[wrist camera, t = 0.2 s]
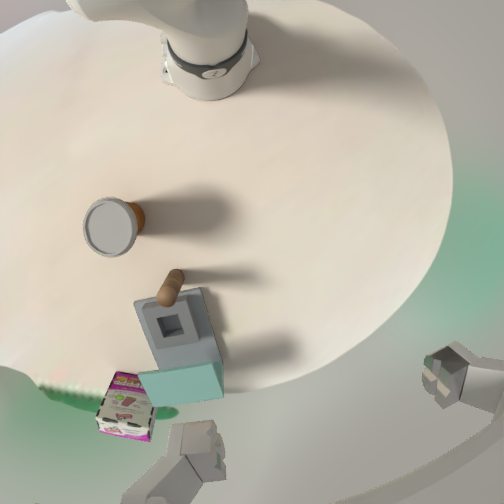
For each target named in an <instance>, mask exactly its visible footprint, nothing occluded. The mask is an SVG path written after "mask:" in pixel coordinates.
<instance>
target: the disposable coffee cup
mask: <svg viewBox="0 0 504 504" xmlns="http://www.w3.org/2000/svg"><path fill="white" fill-rule="evenodd" d="M144 223H145V216H144V212H143V210H142V209H141V208H140V207H139V206H138V205H137V204H134V203H130V202H124V201H122V200H121V199H118V198H115V197H105V198H101V199H99V200H97V201H96V202H94V203H93V204H92V205H91V206H90V207H89V209H88V211H87V213H86V215H85V218H84V221H83V234H84V237H85V240H86V242H87V244H88V245H89V247H90V248H91V249H92V250H93V251H94V252H96V253H98V254H100V255H102V256H105V257H118V256H121V255H123V254H125V253H126V252H127V251H128V250H129V249H130V248H131V247H132V246H133V244H134V242H135V240H136V237H137V235H138V234H139V232H140V231H141V230H142V228H143V226H144Z"/></svg>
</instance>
